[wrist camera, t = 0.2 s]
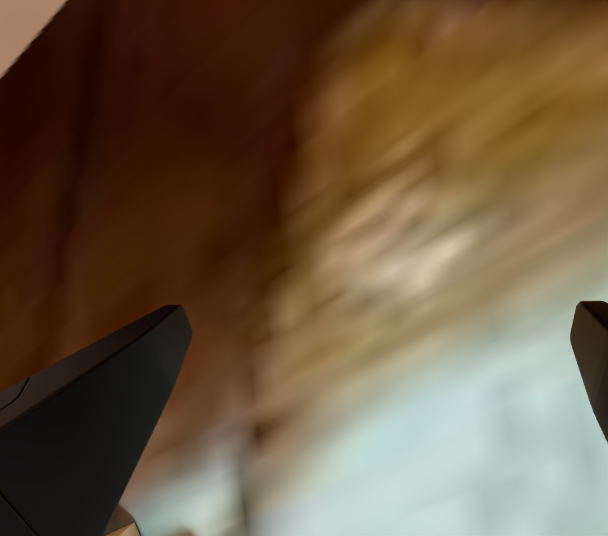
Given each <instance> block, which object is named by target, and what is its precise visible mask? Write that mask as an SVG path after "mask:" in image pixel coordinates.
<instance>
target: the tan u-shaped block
mask: <svg viewBox="0 0 608 536" xmlns="http://www.w3.org/2000/svg"><path fill="white" fill-rule="evenodd" d="M105 536H140V534H139V532H138V530H137V527H136V525H135V523H131V524H129V525H127V526H125V527H123V528H120V529H118V530H116V531H114V532H112V533H109V534H107V535H105Z"/></svg>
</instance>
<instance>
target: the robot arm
mask: <svg viewBox="0 0 608 536" xmlns="http://www.w3.org/2000/svg"><path fill="white" fill-rule="evenodd" d="M191 339H192V329H191V326H190V323H189V320H188V318H187V315H186V312H185V310H184V308H183V307H182V306H181V305H165V306H163V307H161V308H159V309H157V310H155V311H154V312H152V313H150V314H148V315H146V316H144V317H142V318H140V319H138V320H136V321H134V322H133V323H131V324H129V325H127V326H125V327H123V328H121V329H119V330H117V331H115V332H114V333H112V334H110V335H108V336H106V337H104V338H102V339H100V340H98V341H96V342H95V343H93V344H91V345H89V346H87V347H85V348H83V349H81V350H79V351H77V352H76V353H74V354H72V355H70V356H68V357H66V358H64V359H62V360H60V361H58V362H56V363H55V364H53V365H51V366H49V367H47V368H45V369H43V370H41V371H39V372H37V373H36V374H34V375H32V376H31V378H30V377H28V378H26V379H24V380H22V381H20V382H18V383H16V384H15V385H13V386H11V387H9V388H7V389H5V390H3V391H1V392H0V536H103V534H104V532H105V530H106V528H107V526H108V524H109V522H110V520H111V518H112V516H113V513H114V511H115V509H116V507H117V505H118V503H119V501H120V499H121V497H122V495H123V493H124V491H125V489H126V487H127V485H128V482H129V480H130V478H131V476H132V474H133V472H134V470H135V468H136V466H137V464H138V462H139V460H140V458H141V456H142V453H143V451H144V449H145V447H146V445H147V443H148V441H149V439H150V437H151V435H152V433H153V431H154V429H155V427H156V425H157V422H158V420H159V418H160V416H161V414H162V412H163V410H164V408H165V406H166V404H167V402H168V400H169V398H170V395H171V393H172V391H173V389H174V386H175V384H176V381H177V378H178V376H179V373H180V370H181V367H182V364H183V362H184V359H185V356H186V353H187V351H188V348H189V345H190V342H191ZM570 341H571V345H572V349H573V352H574V355H575V358H576V361H577V364H578V367H579V370H580V373H581V376H582V379H583V383H584V386H585V389H586V392H587V395H588V398H589V401H590V404H591V407H592V409H593V412H594V414H595V417H596V419H597V421H598V423H599V426H600V428H601V430H602V432H603V434H604V436H605V438H606V441H607V443H608V303H606V302H604V301H581V302H579V303H578V305H577V306H576V310H575V314H574V319H573V324H572V328H571V333H570Z"/></svg>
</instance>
